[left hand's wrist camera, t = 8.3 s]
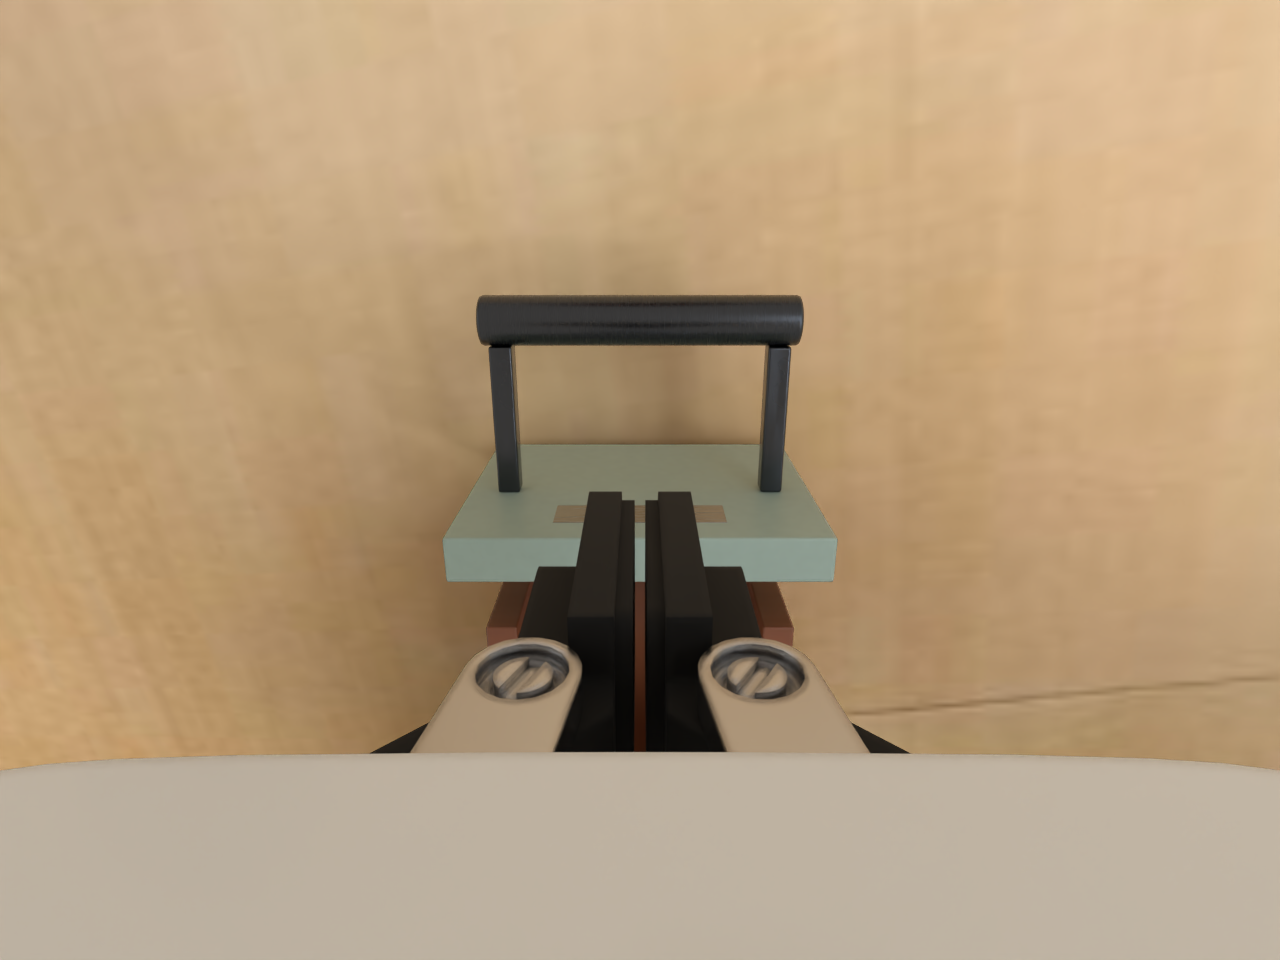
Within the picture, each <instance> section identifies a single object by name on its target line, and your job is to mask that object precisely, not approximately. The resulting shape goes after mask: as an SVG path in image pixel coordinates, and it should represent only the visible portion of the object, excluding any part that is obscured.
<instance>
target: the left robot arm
mask: <svg viewBox="0 0 1280 960" xmlns="http://www.w3.org/2000/svg"><path fill="white" fill-rule="evenodd" d="M634 721H635V500H622V491H589V495H588V501H587V506H586V512H585V518H584V524H583V529H582V535H581V541H580V546H579V552H578V558H577V563H576V566H539V567H538V569H537V572H536V576H535V580H534V583H533V587H532V590H531V594H530V598H529V601H528V605H527V608H526V612H525V615H524V619H523V623H522V626H521V630H520V633H519V637H518V638H517V639H511V640H505V641H502V642H499V643H497V644H494V645H491V646H488V647H487V648H485V649H483V650H482V651H480V652H479V653H477V654H475V655H474V656H473V657H472V659H471V660H470V661H469V662H468V663H467V664H466V665H465V667H464V668H463V670H462V672H461V673H460V675H459V676H458V678H457V679H456V681H455V683H454V684H453V686H452V687H451V689H450V690H449V692H448V694H447V695H446V697H445V698H444V700H443V702H442V703H441V705H440V706H439V708H438V709H437V711H436V713H435V714H434V716H433V717H432V719H431V720H430V722H429V723H427V724H425V725H423V726H421V727H420V728H418V729H416V730H414V731H412V732H410V733H408V734H406V735H404V736H402V737H400V738H398V739H397V740H395V741H393V742H391V743H389V744H387V745H385V746H383V747H381V748H379V749H377V750H375V751H373V752H372V753H370V754H302V755H229V756H197V757H166V758H134V759H111V760H97V761H83V762H69V763H56V764H45V765H37V766H30V767H23V768H15V769H8V770H1V771H0V960H1280V771H1279V770H1274V769H1266V768H1258V767H1250V766H1242V765H1234V764H1225V763H1213V762H1198V761H1182V760H1166V759H1151V758H1117V757H1080V756H1044V755H995V754H910V753H908V752H907V751H905V750H903V749H901V748H899V747H897V746H895V745H893V744H891V743H889V742H887V741H885V740H883V739H882V738H880V737H878V736H876V735H874V734H872V733H870V732H868V731H866V730H864V729H862V728H860V727H859V726H857V725H855V724H853V723H851V722H850V720H849V719H848V717H847V716H846V714H845V713H844V711H843V709H842V708H841V706H840V705H839V703H838V702H837V700H836V698H835V697H834V695H833V694H832V692H831V690H830V689H829V687H828V686H827V684H826V683H825V681H824V679H823V678H822V676H821V675H820V673H819V672H818V670H817V668H816V667H815V665H814V664H813V663H812V662H811V661H810V660H809V659H808V657H807V656H806V655H805V654H803V653H801V652H800V651H798V650H797V649H795V648H793V647H792V646H789V645H786V644H783V643H781V642H778V641H775V640H769V639H763V638H762V637H761V633H760V630H759V626H758V623H757V619H756V615H755V612H754V608H753V605H752V601H751V598H750V594H749V590H748V587H747V583H746V580H745V576H744V572H743V569H742V567H741V566H704V563H703V558H702V552H701V546H700V541H699V535H698V529H697V524H696V518H695V512H694V506H693V501H692V495H691V491H658V500H645V721H646V752H634Z"/></svg>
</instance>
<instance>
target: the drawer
mask: <svg viewBox="0 0 1280 960" xmlns="http://www.w3.org/2000/svg"><path fill="white" fill-rule="evenodd" d="M803 323H804V309H803V303H802V299H801V297H800V296H798V295H482V296H480V297H479V299H478V302H477V308H476V325H477V332H478V337H479V340H480V342H481V344H483V345H485V346H490V347H489V362H490V376H491V390H492V404H493V419H494V433H495V447H496V451H495V452H494V454H493V456H492V457H491V459H490V461H489V462H488V464H487V466H486V467H485V469H484V471H483V472H482V474H481V476H480V477H479V479H478V481H477V482H476V484H475V486H474V487H473V489H472V491H471V492H470V494H469V496H468V497H467V499H466V501H465V502H464V504H463V506H462V507H461V509H460V511H459V512H458V514H457V516H456V517H455V519H454V521H453V522H452V524H451V526H450V527H449V529H448V531H447V532H446V534H445V536H444V537H443V550H444V560H445V570H446V579H447V581H448V582H503V584H502V587H501V589H500V592H499V595H498V597H497V600H496V603H495V606H494V608H493V611H492V614H491V616H490V619H489V622H488V625H487V627H486V632H487V644H488V646H491V645H494V644H497V643H499V642H502V641H505V640H511V639H517V638H518V637H519V633H520V630H521V626H522V623H523V619H524V615H525V612H526V608H527V605H528V601H529V598H530V594H531V590H532V587H533V583H534V580H535V576H536V572H537V569H538V567H539V566H576V563H577V558H578V552H579V546H580V541H581V535H582V529H583V524H584V518H585V512H586V506H587V501H588V495H589V491H622V500H635V721H634V752H646V721H645V500H658V491H691V495H692V501H693V506H694V512H695V518H696V524H697V529H698V535H699V541H700V546H701V552H702V558H703V563H704V566H741V567H742V569H743V572H744V576H745V580H746V583H747V587H748V590H749V594H750V598H751V601H752V605H753V608H754V612H755V615H756V619H757V623H758V626H759V630H760V633H761V637H762V638H763V639H769V640H775V641H778V642H781V643H783V644H786V645H789V646H792V645H793V632H794V627H793V625H792V622H791V619H790V617H789V614H788V611H787V608H786V606H785V603H784V600H783V597H782V595H781V592H780V589H779V586H778V584H777V582H832V581H833V579H834V570H835V560H836V550H837V537H836V536H835V534H834V532H833V531H832V529H831V527H830V526H829V524H828V522H827V521H826V519H825V517H824V516H823V514H822V512H821V511H820V509H819V507H818V506H817V504H816V502H815V501H814V499H813V497H812V496H811V494H810V492H809V490H808V489H807V487H806V485H805V484H804V482H803V480H802V479H801V477H800V475H799V474H798V472H797V470H796V469H795V467H794V465H793V464H792V462H791V460H790V459H789V457H788V455H787V454H786V452H785V450H784V446H785V431H786V417H787V403H788V388H789V374H790V360H791V347H790V346H789V345H797V344H798V343H799V342H800V339H801V336H802V332H803ZM585 345H766V346H765V363H764V380H763V398H762V415H761V432H760V444H520V431H519V414H518V397H517V380H516V363H515V346H585Z"/></svg>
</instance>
